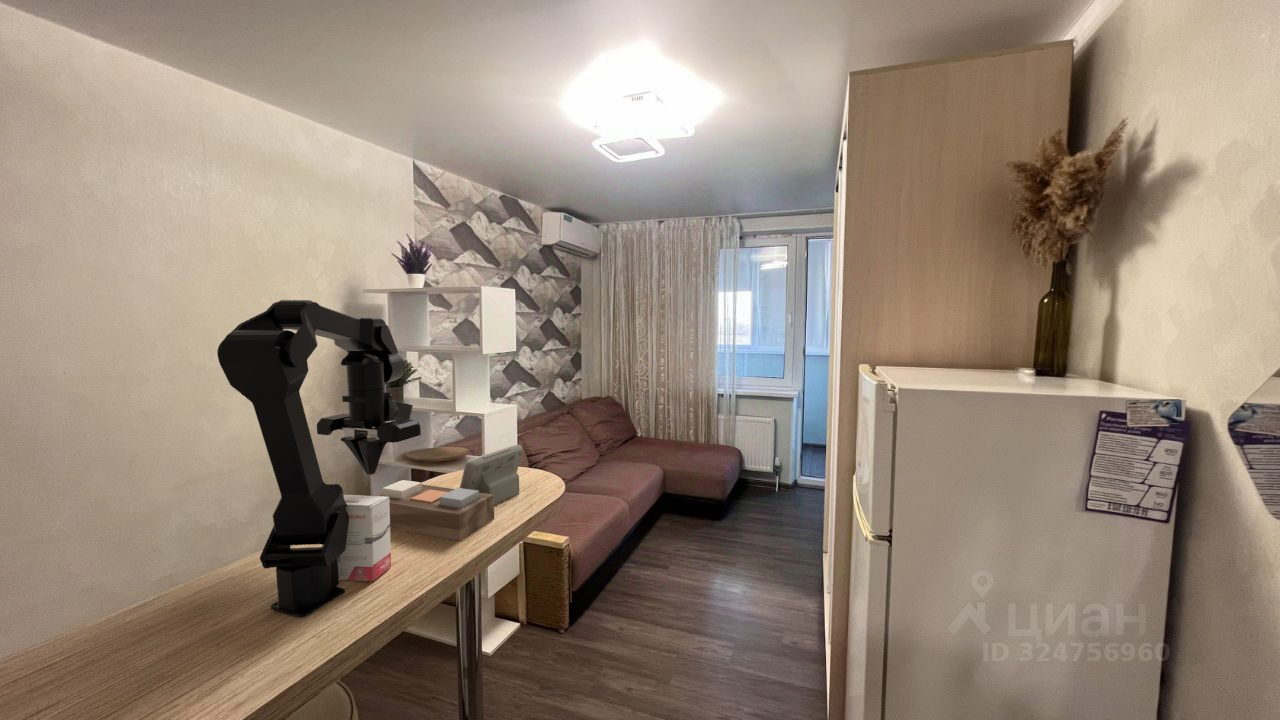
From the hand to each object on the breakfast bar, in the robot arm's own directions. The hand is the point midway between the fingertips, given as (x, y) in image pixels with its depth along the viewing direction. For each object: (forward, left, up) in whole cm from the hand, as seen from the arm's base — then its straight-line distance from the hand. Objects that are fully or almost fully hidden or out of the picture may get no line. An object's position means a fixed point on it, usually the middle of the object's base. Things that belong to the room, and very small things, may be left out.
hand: (371, 474), depth 87 cm
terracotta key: (+9, -5, -10) cm, 14 cm away
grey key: (+9, -12, -8) cm, 17 cm away
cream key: (+9, +2, -8) cm, 12 cm away
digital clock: (+24, -8, -12) cm, 28 cm away
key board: (+9, -5, -12) cm, 16 cm away
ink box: (-10, -8, -12) cm, 18 cm away
